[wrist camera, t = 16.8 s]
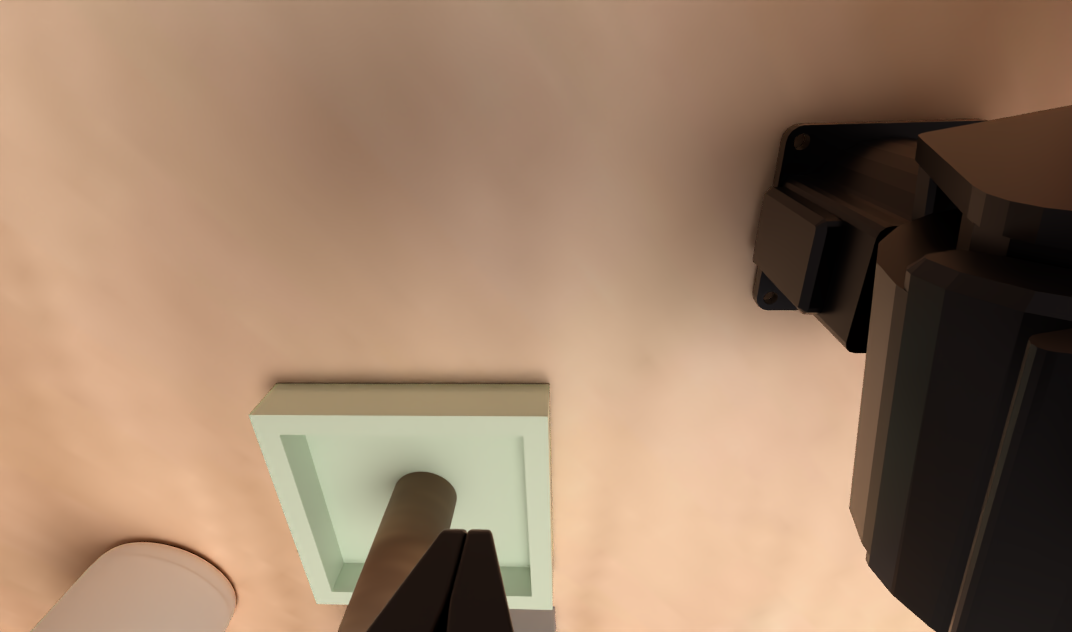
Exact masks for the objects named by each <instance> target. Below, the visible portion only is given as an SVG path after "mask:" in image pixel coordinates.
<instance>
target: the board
mask: <svg viewBox="0 0 1072 632" xmlns="http://www.w3.org/2000/svg"><path fill="white" fill-rule="evenodd" d="M509 611H510V616H511V620H512V625H513V629H514V632H556V621H555V607H553V610H533V609H509Z"/></svg>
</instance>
